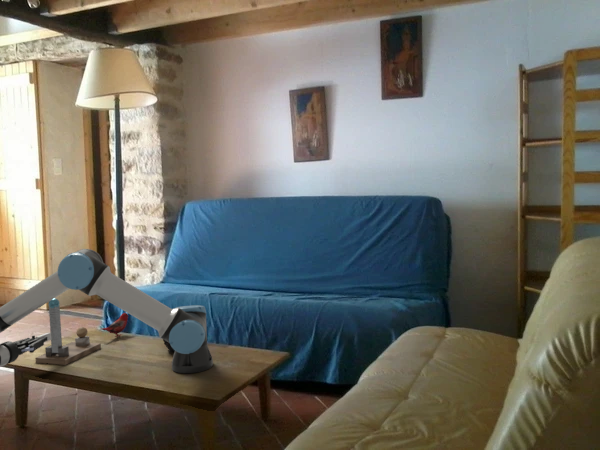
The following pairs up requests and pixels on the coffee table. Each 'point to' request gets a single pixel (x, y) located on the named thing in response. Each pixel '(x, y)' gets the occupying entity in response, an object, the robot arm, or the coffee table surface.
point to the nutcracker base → (70, 350)
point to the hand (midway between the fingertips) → (49, 335)
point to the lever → (55, 325)
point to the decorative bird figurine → (118, 325)
